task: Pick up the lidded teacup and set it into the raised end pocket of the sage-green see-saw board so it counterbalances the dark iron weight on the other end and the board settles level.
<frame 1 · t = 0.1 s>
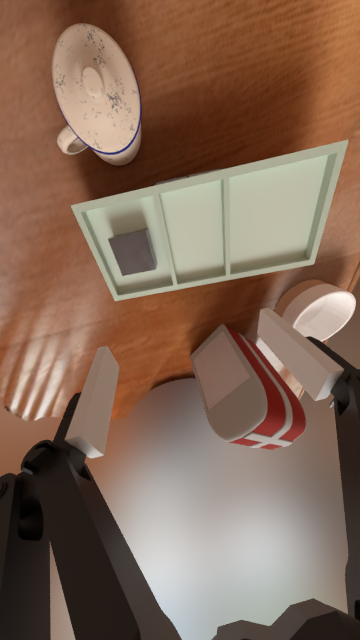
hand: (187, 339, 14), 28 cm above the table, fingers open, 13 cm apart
iron weight: (136, 250, 30), point 7 cm above the table, tilted 7°, touching divided tray
bowl: (299, 305, 52), on the table
teacup with lid: (105, 134, 26), on the table
red striped block: (222, 350, 57), on the table
divided tray: (204, 236, 28), point 8 cm above the table, hinge at 7.3°, touching iron weight
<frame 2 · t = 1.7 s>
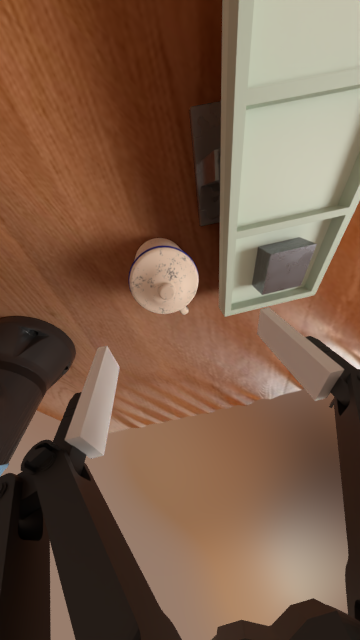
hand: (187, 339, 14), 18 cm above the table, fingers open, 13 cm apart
iron weight: (273, 262, 25), point 7 cm above the table, tilted 7°, touching divided tray
fulcrum: (257, 163, 23), on the table
teacup with lid: (164, 271, 30), on the table
divided tray: (303, 146, 17), point 8 cm above the table, hinge at 7.3°, touching iron weight
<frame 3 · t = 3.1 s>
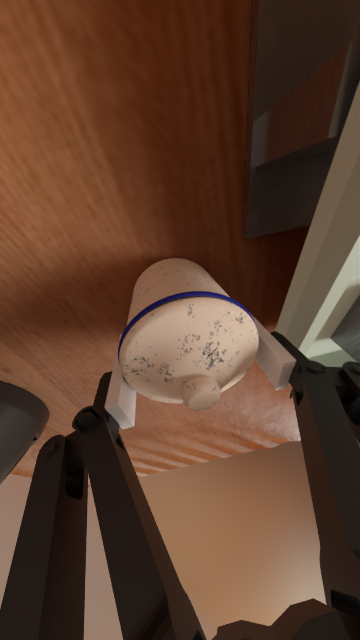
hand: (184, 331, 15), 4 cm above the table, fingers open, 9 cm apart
teacup with lid: (180, 307, 19), on the table, touching gripper
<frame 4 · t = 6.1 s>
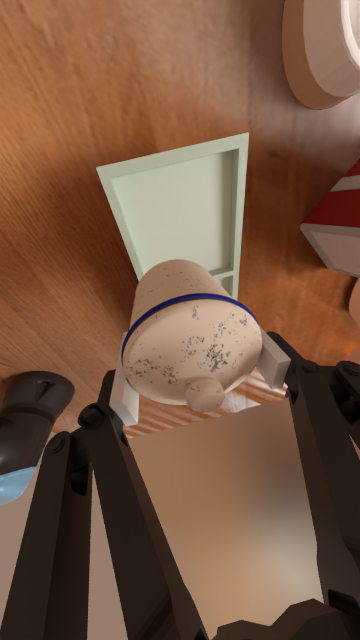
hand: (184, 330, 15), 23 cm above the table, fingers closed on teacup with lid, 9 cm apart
bowl: (342, 10, 22), on the table
teacup with lid: (182, 308, 19), point 19 cm above the table, touching gripper
red striped block: (349, 214, 36), on the table
divided tray: (192, 296, 31), point 8 cm above the table, hinge at 7.3°, touching iron weight
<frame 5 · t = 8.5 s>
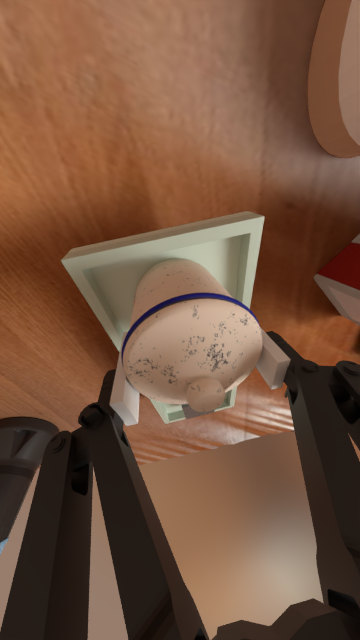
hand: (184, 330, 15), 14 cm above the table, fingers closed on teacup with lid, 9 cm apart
iron weight: (195, 394, 35), point 7 cm above the table, tilted 7°, touching divided tray
teacup with lid: (182, 308, 19), point 10 cm above the table, touching divided tray, gripper
divided tray: (189, 362, 26), point 8 cm above the table, hinge at 6.7°, touching iron weight, teacup with lid
when the fingers open (14 cm above the table, at t = 8.7 s): teacup with lid stays where it is, resting on divided tray.
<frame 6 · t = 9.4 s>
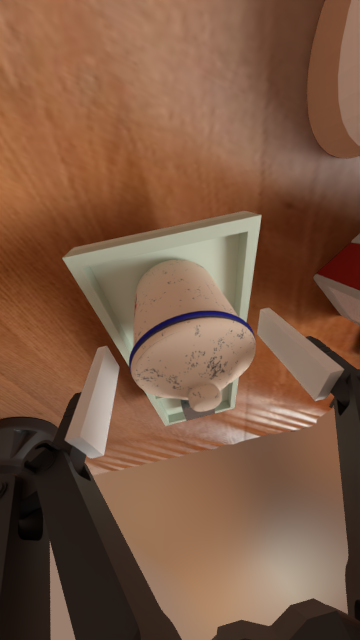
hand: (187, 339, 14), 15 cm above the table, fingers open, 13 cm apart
iron weight: (195, 396, 34), point 7 cm above the table, tilted 6°, touching divided tray
teacup with lid: (180, 304, 19), point 9 cm above the table, touching divided tray
divided tray: (188, 362, 26), point 8 cm above the table, hinge at 5.5°, touching iron weight, teacup with lid
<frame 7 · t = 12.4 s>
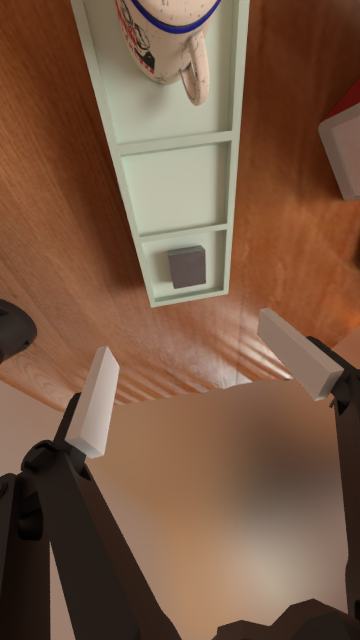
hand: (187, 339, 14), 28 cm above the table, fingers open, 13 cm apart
iron weight: (185, 264, 31), point 7 cm above the table, touching divided tray
teacup with lid: (168, 39, 17), point 9 cm above the table, touching divided tray
divided tray: (178, 180, 24), point 8 cm above the table, hinge at 3.5°, touching iron weight, teacup with lid
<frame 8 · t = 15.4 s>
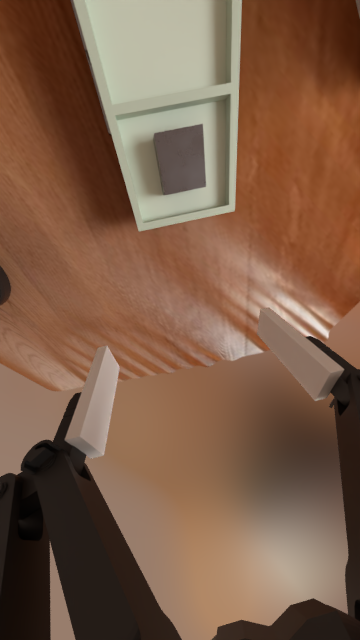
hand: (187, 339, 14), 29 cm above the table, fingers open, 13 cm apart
iron weight: (178, 165, 24), point 7 cm above the table, touching divided tray
fulcrum: (155, 61, 23), on the table
divided tray: (158, 1, 17), point 8 cm above the table, hinge at 2.9°, touching iron weight, teacup with lid
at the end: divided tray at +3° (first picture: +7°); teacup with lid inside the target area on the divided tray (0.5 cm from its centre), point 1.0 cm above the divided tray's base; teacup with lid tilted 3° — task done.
